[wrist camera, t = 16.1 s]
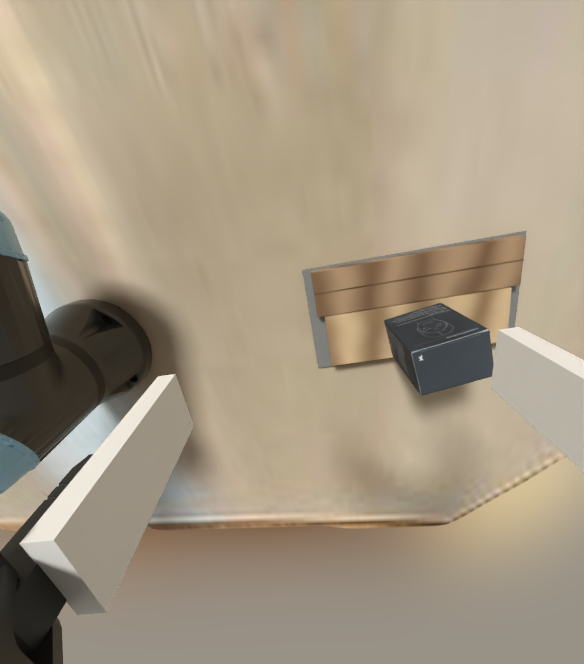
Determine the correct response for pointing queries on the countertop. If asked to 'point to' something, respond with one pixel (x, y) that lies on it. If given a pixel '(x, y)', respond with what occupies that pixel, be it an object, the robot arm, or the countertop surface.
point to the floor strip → (419, 276)
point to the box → (440, 348)
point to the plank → (368, 325)
